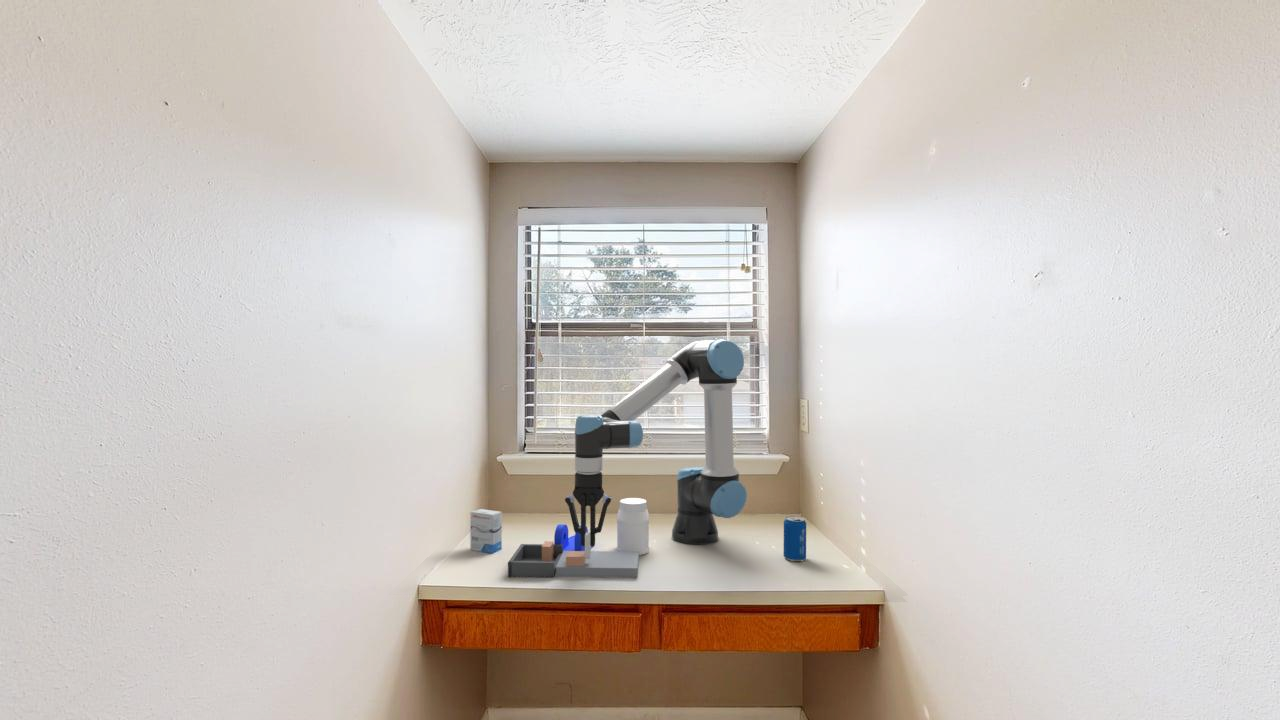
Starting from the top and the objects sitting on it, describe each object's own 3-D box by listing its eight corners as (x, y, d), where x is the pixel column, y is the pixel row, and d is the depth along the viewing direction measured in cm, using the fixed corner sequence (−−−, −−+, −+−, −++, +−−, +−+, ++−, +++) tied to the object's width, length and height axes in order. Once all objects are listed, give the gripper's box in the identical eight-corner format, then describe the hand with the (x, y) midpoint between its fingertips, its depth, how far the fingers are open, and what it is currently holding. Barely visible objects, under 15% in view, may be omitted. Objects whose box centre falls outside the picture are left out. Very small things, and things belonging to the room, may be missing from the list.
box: (562, 558, 178) (563, 544, 178) (554, 577, 162) (554, 562, 162) (521, 557, 179) (521, 544, 179) (507, 577, 163) (508, 562, 163)
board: (638, 560, 177) (638, 551, 177) (637, 577, 163) (637, 568, 163) (563, 559, 177) (563, 550, 177) (555, 576, 163) (555, 567, 163)
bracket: (581, 560, 177) (581, 529, 177) (554, 558, 179) (554, 527, 179) (597, 542, 195) (597, 514, 195) (572, 540, 197) (572, 512, 197)
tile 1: (553, 541, 176) (545, 541, 176) (550, 546, 171) (541, 546, 171) (553, 558, 176) (544, 558, 176) (550, 564, 171) (541, 564, 171)
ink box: (502, 549, 186) (502, 511, 186) (492, 554, 182) (492, 514, 182) (480, 545, 190) (480, 508, 190) (469, 550, 185) (469, 511, 185)
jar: (648, 555, 181) (649, 505, 181) (616, 555, 181) (617, 505, 181) (648, 543, 193) (648, 496, 193) (617, 543, 193) (618, 496, 193)
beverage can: (793, 564, 174) (794, 522, 174) (778, 557, 180) (779, 517, 180) (810, 560, 177) (811, 519, 177) (795, 554, 183) (795, 514, 183)
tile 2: (586, 560, 169) (586, 551, 169) (584, 566, 164) (584, 557, 164) (568, 560, 169) (568, 551, 169) (565, 566, 164) (565, 556, 164)
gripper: (613, 469, 170) (612, 553, 170) (566, 469, 170) (566, 553, 170) (611, 474, 163) (610, 562, 163) (563, 474, 163) (562, 561, 163)
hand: (587, 557), depth 167 cm, fingers closed
